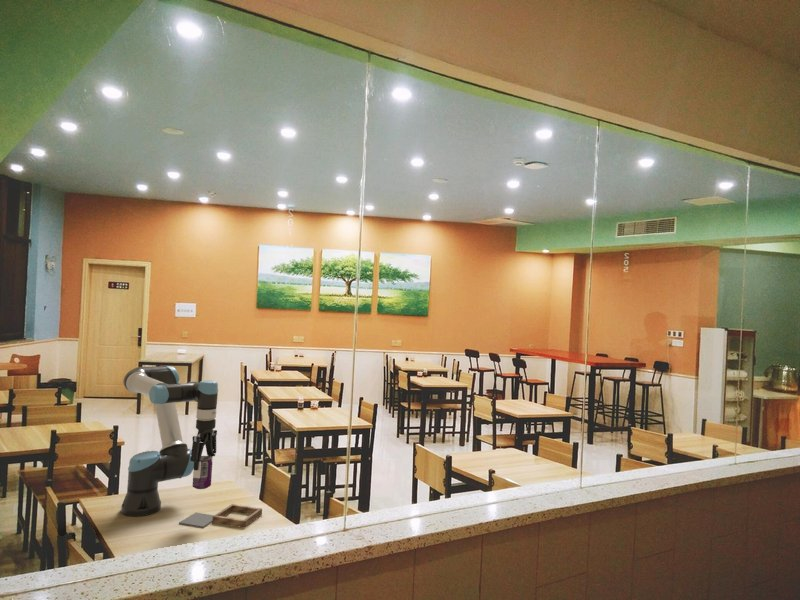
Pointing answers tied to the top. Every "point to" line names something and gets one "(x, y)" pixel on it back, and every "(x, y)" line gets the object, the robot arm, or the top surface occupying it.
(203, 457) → the beverage can
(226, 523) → the frame
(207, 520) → the coaster
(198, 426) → the robot arm
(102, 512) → the top surface
